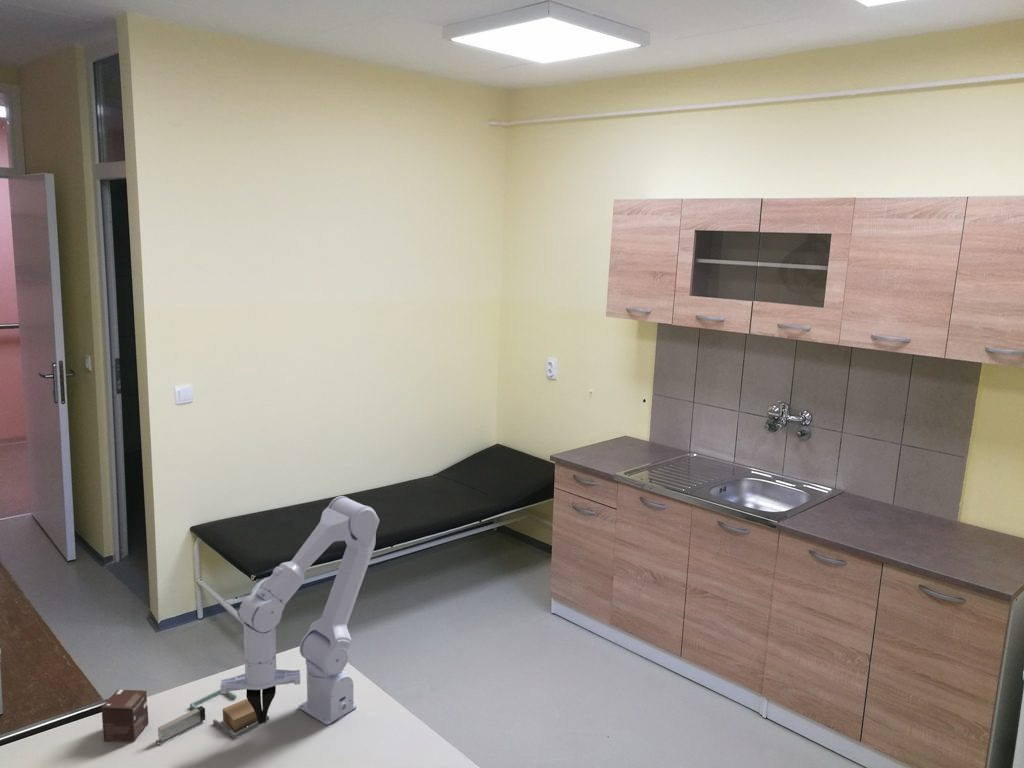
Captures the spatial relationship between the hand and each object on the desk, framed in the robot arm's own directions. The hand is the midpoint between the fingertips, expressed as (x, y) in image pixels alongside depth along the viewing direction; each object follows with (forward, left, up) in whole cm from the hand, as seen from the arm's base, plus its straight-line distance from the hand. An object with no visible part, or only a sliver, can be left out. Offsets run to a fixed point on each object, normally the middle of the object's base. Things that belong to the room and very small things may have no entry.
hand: (262, 720), depth 147 cm
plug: (+7, 0, -4) cm, 8 cm away
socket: (+9, +5, -3) cm, 11 cm away
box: (+21, +16, -4) cm, 27 cm away
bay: (+17, 0, -4) cm, 18 cm away
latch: (+13, +9, -4) cm, 17 cm away
